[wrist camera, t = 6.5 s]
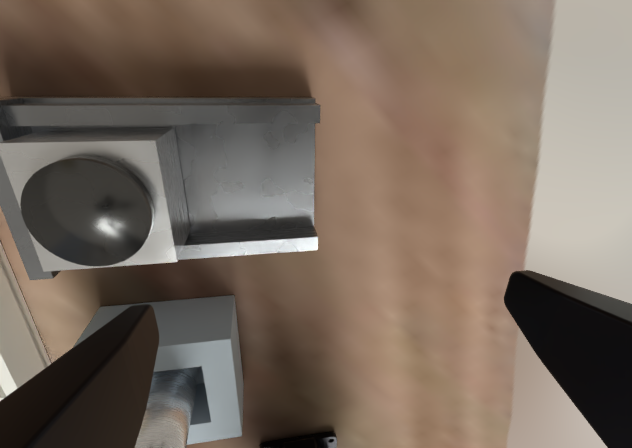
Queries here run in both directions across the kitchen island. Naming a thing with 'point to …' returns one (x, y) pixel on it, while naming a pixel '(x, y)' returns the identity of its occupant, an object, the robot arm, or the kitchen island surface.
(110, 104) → the rail
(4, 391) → the tray
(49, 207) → the carriage
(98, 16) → the kitchen island surface
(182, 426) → the pin
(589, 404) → the robot arm
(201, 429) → the socket block
